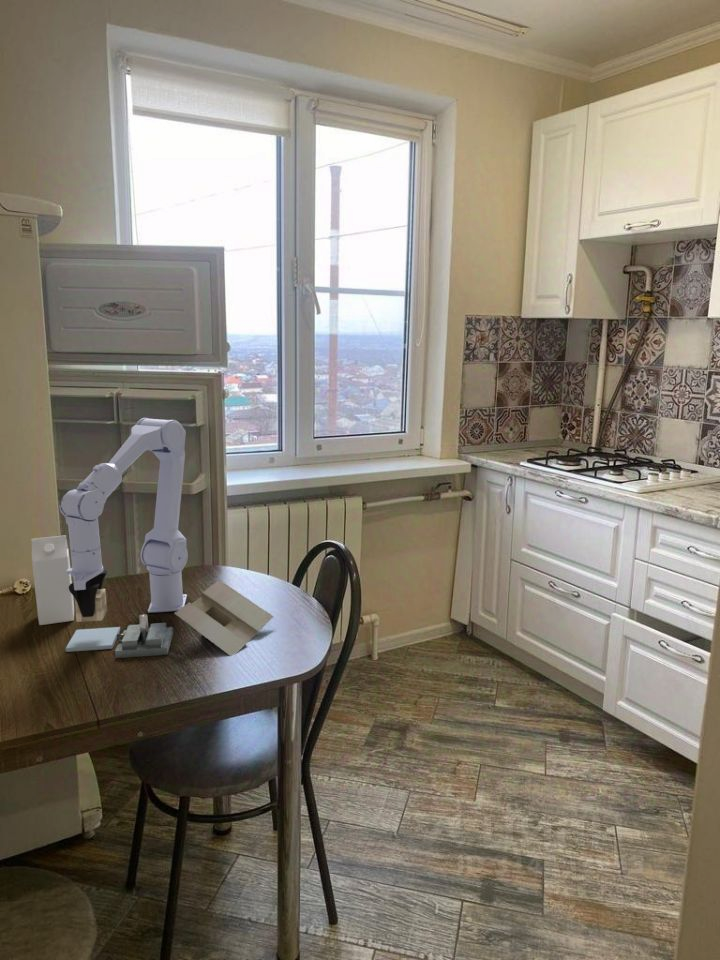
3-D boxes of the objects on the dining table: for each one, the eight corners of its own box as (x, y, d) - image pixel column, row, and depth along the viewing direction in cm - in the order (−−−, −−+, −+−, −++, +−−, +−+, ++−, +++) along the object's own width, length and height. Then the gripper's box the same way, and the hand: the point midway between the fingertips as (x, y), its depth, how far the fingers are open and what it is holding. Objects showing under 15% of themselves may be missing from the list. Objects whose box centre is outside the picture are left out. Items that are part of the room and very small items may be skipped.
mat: (76, 633, 151) (76, 629, 150) (120, 630, 152) (120, 626, 152) (66, 651, 142) (65, 648, 142) (112, 648, 143) (111, 645, 143)
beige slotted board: (257, 636, 158) (210, 589, 159) (276, 615, 153) (227, 567, 155) (213, 678, 144) (162, 627, 146) (232, 657, 139) (179, 604, 141)
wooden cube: (82, 612, 148) (80, 589, 147) (107, 611, 148) (105, 588, 147) (76, 621, 143) (74, 598, 142) (102, 620, 144) (100, 597, 143)
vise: (122, 636, 149) (120, 608, 147) (173, 633, 150) (171, 605, 149) (113, 658, 139) (110, 627, 138) (167, 654, 140) (165, 624, 139)
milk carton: (41, 614, 161) (32, 534, 157) (74, 609, 163) (66, 531, 159) (39, 626, 154) (29, 543, 150) (73, 621, 157) (65, 539, 153)
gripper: (73, 538, 149) (79, 599, 152) (54, 560, 135) (61, 626, 138) (108, 537, 150) (113, 597, 153) (93, 558, 136) (99, 623, 139)
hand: (91, 610), depth 145 cm, fingers closed on wooden cube, 5 cm apart
